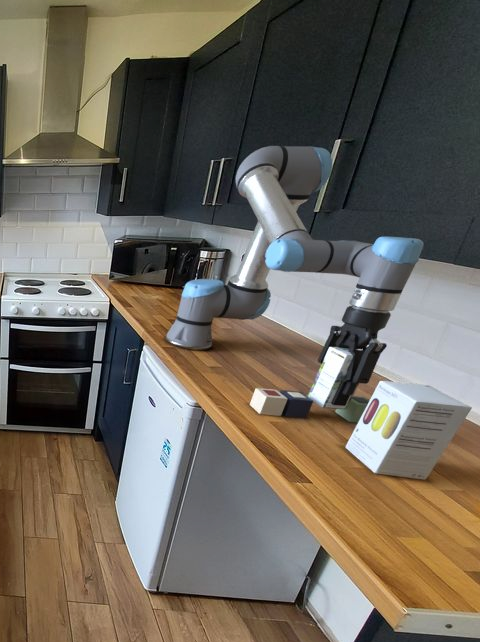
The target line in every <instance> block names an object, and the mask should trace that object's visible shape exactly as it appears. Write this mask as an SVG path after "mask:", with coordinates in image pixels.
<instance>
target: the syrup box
mask: <svg viewBox="0 0 480 642" xmlns="http://www.w3.org/2000/svg"><path fill="white" fill-rule="evenodd" d="M356 350H359V349H356ZM352 358H353V355H352V354H350V352H349V348H338V347H329V349H328V351H327V354H326V356H325V358H324V360H323V363H322V364H320V367H319V369H318V371H317V374H316V376H315V379H314V380H313V383H312V385H311V387H310V390H309V392H308V394H307V396H308V397H309V398H310V399H312V400H313V404H315V405H317V406H319V407H320V408H322V409H332V410H336V409H343V410H346V409H347V407H348V405H349V403H350V401H351V399H352V397H353V396H355V393H356V391H357V389H358V387H359V386H360V383H358V384H357V386H356V388H355V390H354V392H353V394H352V395H350V397H349V399H348V401H347V403H346V405H345V406H338V405H332V404H331V402H332V400H333V398H334V396H335V394H336V391H337V389H338V387H339V385H340V383H341V381H342V379H346V375H347V370H348V367H349V365H350V363H351V361H352ZM353 377H354V376H353Z"/></svg>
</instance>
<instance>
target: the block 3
mask: <svg viewBox="0 0 480 642" xmlns="http://www.w3.org/2000/svg"><path fill="white" fill-rule="evenodd" d="M369 401H370V399H369V398H367V397H365V396H361V395H360V396H358V395H353V397H352V399H351V401H350V403H349V405H348V407H347V409H346V410H343V409H335V411H334V412H335V413H336V414H337V415H339V416H340V417H341V418H343V419H344V420H345V421H347V422H349V423H356V424H358V422H359V420H360V418H361V416H362V414H363V412H364V411H365V409H366V407H367V405H368V403H369Z"/></svg>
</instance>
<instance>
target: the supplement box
mask: <svg viewBox="0 0 480 642" xmlns="http://www.w3.org/2000/svg"><path fill="white" fill-rule="evenodd" d="M369 400H370V401H369V403H368V405H367V407H366V409H365V411H364V412H363V414H362V416H361V418H360V420H359V422H358V423H356V425H355V428H354V430H353V432H352V433H351V435H350V437H349V439H348V441H347V443H346V445H345V449H346V450H348V451H349V452H350V454H352V455H353V456H354V457H356V458H357V459H358V460H359V461H360V462H361V463H362V464H363V465H364V466H366V467H367V468H368V469H369V470H370V471H371V472H373V473H374V474H377V475H384V476H392V477H400V478H409V479H417V480H427V478H428V477H429V476H430V474H431V472H432V471H433V469H434V468H435V466H436V464H437V463H438V462H439V460H440V458H441V457H442V455H443V454H444V452H445V451H446V449H447V448H448V445H450V443H451V442H452V439H454V436H455V435H456V433H457V432H458V430H459V429H460V427H461V425H462V424H463V422H464V421H465V419H466V418H467V417H468V415H469V413H470V412H471V410H472V409H473V407H472V406H470V405H468V404H467V403H463V402H462V401H460V400H458V399H456V398H454V397H452V396H451V395H448V394H446V393H445V392H443V391H441V390H439V389H437V388H435V387H433V386H431V385H429V384H421V383H420V384H419V383H410V382H409V383H408V382H398V381H388V380H380V381H379V382H378V384H377V386H376V387H375V389H374V392H373V393H372V395H371V397H370V399H369Z"/></svg>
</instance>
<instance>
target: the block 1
mask: <svg viewBox="0 0 480 642" xmlns="http://www.w3.org/2000/svg"><path fill="white" fill-rule="evenodd" d="M286 402H287V398H286V397H285V396H284V395H282V394H281V393H280V391H278V390H277V389H272V388H271V389H270V388H259V387H255V390H254V392H253V394H252V397H251V400H250V403H249V406H250V407H251V408H252V409H253V410H255V412H257V413H258V414H259V415H265V416H275V417H282V415H283V414H282V412H283V409H284V407H285V404H286Z"/></svg>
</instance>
